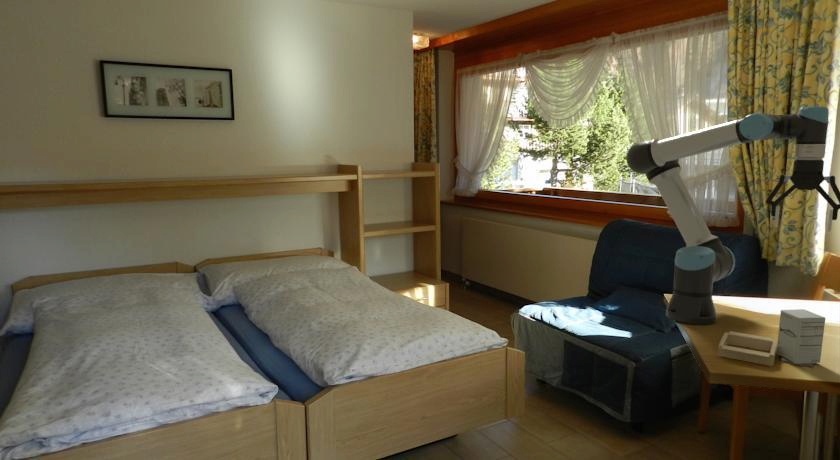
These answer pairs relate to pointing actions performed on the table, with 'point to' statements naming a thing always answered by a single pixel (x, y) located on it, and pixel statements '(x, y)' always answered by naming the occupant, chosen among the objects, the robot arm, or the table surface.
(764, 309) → the table surface
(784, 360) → the coaster
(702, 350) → the table surface
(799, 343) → the supplement box
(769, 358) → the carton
